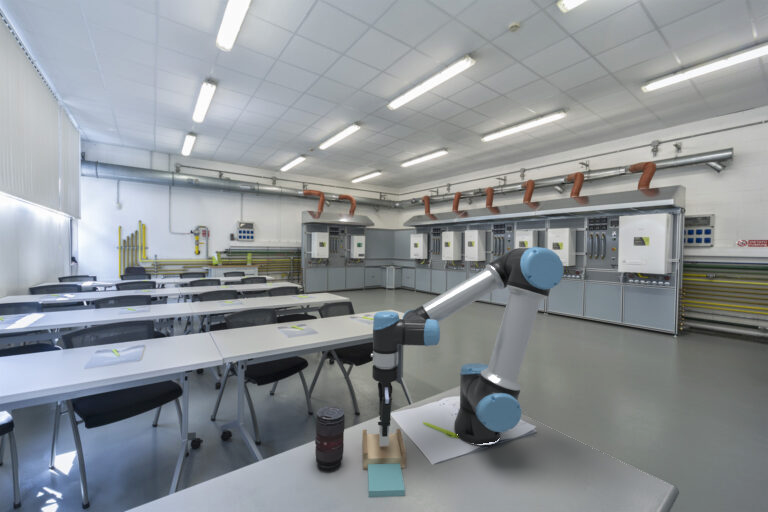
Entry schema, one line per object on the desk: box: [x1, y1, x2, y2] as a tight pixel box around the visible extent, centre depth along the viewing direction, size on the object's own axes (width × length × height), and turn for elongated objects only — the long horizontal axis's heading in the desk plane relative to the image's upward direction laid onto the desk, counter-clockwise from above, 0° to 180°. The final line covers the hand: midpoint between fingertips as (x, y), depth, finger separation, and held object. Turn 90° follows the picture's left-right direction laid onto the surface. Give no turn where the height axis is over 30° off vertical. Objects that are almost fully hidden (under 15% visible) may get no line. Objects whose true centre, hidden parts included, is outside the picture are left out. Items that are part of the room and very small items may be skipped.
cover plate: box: [367, 463, 406, 498], centre depth 83 cm, size 9×10×2 cm
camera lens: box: [314, 405, 346, 473], centre depth 90 cm, size 8×8×15 cm
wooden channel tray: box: [361, 428, 407, 470], centre depth 94 cm, size 12×12×4 cm
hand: (384, 444), depth 93 cm, fingers closed
